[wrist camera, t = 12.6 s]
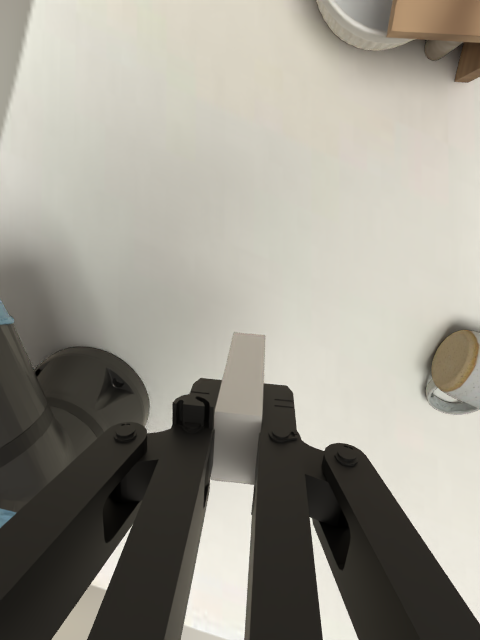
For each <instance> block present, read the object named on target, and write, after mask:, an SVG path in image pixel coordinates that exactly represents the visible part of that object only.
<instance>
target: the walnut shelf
mask: <svg viewBox="0 0 480 640" xmlns="http://www.w3.org/2000/svg"><path fill="white" fill-rule="evenodd" d="M386 37H387V38H405V39H422V40H427V42H426V44H425V49H424V50H425V55H426V56H427V58H428V59H430V60H439V59H441V58H442V57H443V56H445V55H446V54H448V53H449V52H451V51H452V50H453V49H455V48H456V47H458V46H459V45H460V44H462V43H463V47H462V51H461V55H460V60H459V64H458V68H457V73H456V77H455V81H454V82H470V81H472V80H474V79H476V78H478V77H480V0H393V1H392V7H391V13H390V18H389V24H388V30H387V36H386Z"/></svg>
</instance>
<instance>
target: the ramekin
mask: <svg viewBox="0 0 480 640" xmlns="http://www.w3.org/2000/svg"><path fill="white" fill-rule="evenodd" d="M392 1H393V0H316V2H317V4H318V8H319V11H320V12H321V13H322V15H323V19H324V20H325V21H326V23H327V24H328V26H329V28H330V29H331V30H332V31H333V32H334V34H335V35H337V36H338V37H339V38H340V39H341V40H343V41H345V42H347V43H348V44H349V45H353V46H355V47H356V48H362V49H364V50H373V51H376V50H386V49H391V48H395V47H397V46H401V45H404V44H406V43H408V42H409V41H412V40H415V39H405V38H387V37H386V36H387V30H388V24H389V18H390V13H391V7H392Z"/></svg>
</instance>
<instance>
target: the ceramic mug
mask: <svg viewBox="0 0 480 640" xmlns="http://www.w3.org/2000/svg"><path fill="white" fill-rule="evenodd" d="M431 372H432V378H433V379H431V380H430V381H429V383H428V385H427V386H426V397H427V401H428V402H429V404H430V405H431V406H432V407H433V408H434V409H436V410H438V411H440V412H443V413H447V414H454V415H461V414H468V413H471V412H475V411H478V410H480V332H475V331H470V330H460V331H457V332H454V333H453V334H451V335H450V336H448V337H447V338H446V339H445V340H444V341H443V342H442V343H441V344H440V346H439V348H438V349H437V351H436V353H435V356H434V358H433V362H432V369H431ZM437 388H439V389H440V390H441V391H443V392H444V393H446V394H447V395H449V396H451V397H453V398H455V399H457V400H460V401H463V402H462V403H447V402H445V401H443V400H441V399H439V398H437V397H436V396H434V395H432V393H433V391H434V390H436V389H437Z"/></svg>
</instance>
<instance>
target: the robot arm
mask: <svg viewBox="0 0 480 640" xmlns="http://www.w3.org/2000/svg"><path fill="white" fill-rule="evenodd" d="M13 323H15V322H14V319H13V317H11V316H9V314H8V312H7V310H6V309H5V307H4V305H3V303H2V301H1V299H0V640H51V639H52V638H53V636H54V635H55V634H56V632H57V630H58V629H59V628H60V626H61V625H62V624H63V622H64V621H65V619H66V618H67V616H68V615H69V614H70V612H71V611H72V609H73V608H74V607H75V605H76V604H77V602H78V601H79V600H80V598H81V597H82V595H83V594H84V592H85V591H86V590H87V588H88V587H89V585H90V584H91V583H92V581H93V580H94V578H95V577H96V575H97V574H98V573H99V571H100V570H101V568H102V567H103V566H104V564H105V563H106V561H107V560H108V558H109V557H110V556H111V554H112V553H113V551H114V550H115V549H116V547H117V546H118V544H119V543H120V541H121V540H122V539H123V537H124V536H125V534H126V533H127V532H128V530H129V529H130V527H131V526H132V524H133V526H132V528H131V531H130V533H129V536H128V538H127V541H126V543H125V546H124V548H123V551H122V553H121V556H120V558H119V561H118V563H117V566H116V568H115V571H114V573H113V576H112V578H111V581H110V583H109V586H108V588H107V591H106V594H105V596H104V599H103V601H102V604H101V606H100V609H99V611H98V614H97V616H96V619H95V621H94V624H93V627H92V629H91V632H90V634H89V636H88V639H87V640H181V635H182V630H183V624H184V619H185V614H186V609H187V604H188V599H189V594H190V589H191V583H192V578H193V573H194V568H195V563H196V558H197V553H198V547H199V542H200V537H201V532H202V527H203V522H204V517H205V511H206V506H207V501H208V496H209V488H210V477H211V480H217V481H226V482H235V483H244V484H252V485H254V494H253V503H252V513H251V515H252V524H251V540H250V557H249V573H248V589H247V606H246V622H245V638H244V640H323V638H322V628H321V619H320V610H319V601H318V592H317V582H316V573H315V564H314V555H313V545H312V536H311V527H310V518H309V517H311V518H312V520H313V525H314V527H315V530H316V533H317V535H318V538H319V540H320V543H321V545H322V548H323V550H324V553H325V555H326V558H327V560H328V563H329V566H330V568H331V571H332V573H333V576H334V578H335V581H336V583H337V586H338V588H339V591H340V593H341V596H342V599H343V601H344V604H345V606H346V609H347V611H348V614H349V616H350V619H351V621H352V624H353V626H354V629H355V632H356V634H357V637H358V639H359V640H480V624H479V622H478V621H477V619H476V618H475V616H474V615H473V613H472V612H471V611H470V609H469V608H468V606H467V605H466V603H465V602H464V600H463V599H462V597H461V596H460V594H459V593H458V591H457V590H456V588H455V587H454V585H453V584H452V582H451V581H450V579H449V578H448V576H447V575H446V573H445V572H444V570H443V569H442V568H441V566H440V565H439V563H438V562H437V560H436V559H435V557H434V556H433V554H432V553H431V551H430V550H429V548H428V547H427V545H426V544H425V542H424V541H423V539H422V538H421V536H420V535H419V533H418V532H417V530H416V529H415V527H414V526H413V525H412V523H411V522H410V520H409V519H408V517H407V516H406V514H405V513H404V511H403V510H402V508H401V507H400V505H399V504H398V502H397V501H396V499H395V498H394V496H393V495H392V493H391V492H390V490H389V489H388V487H387V486H386V484H385V483H384V482H383V480H382V479H381V477H380V476H379V474H378V473H377V471H376V470H375V468H374V467H373V465H372V464H371V462H370V461H369V459H368V458H367V456H366V455H365V454H364V453H363V452H362V451H361V450H359V449H357V448H356V447H354V446H351V445H348V444H343V443H335V444H331V445H329V446H328V447H326V449H325V451H322V450H319V449H316V448H314V447H311V446H309V445H308V444H306V443H304V442H303V441H302V440H301V437H300V435H299V433H298V432H297V429H296V419H295V409H294V399H293V393H292V391H291V390H290V389H289V388H288V386H284V385H274V384H264V359H265V335H256V334H246V333H235V332H234V334H233V338H232V342H231V346H230V350H229V354H228V359H227V363H226V367H225V371H224V375H223V379H222V380H215V379H205V378H200V379H199V380H198V381H196V382H195V383H194V384H193V386H192V389H191V392H190V394H188V395H184V396H181V397H179V398H177V399H176V400H175V401H174V402H173V425H172V427H171V429H169V430H166V431H162V432H157V433H148V434H147V430H146V428H145V425H146V422H147V419H148V415H149V399H148V395H147V392H146V389H145V387H144V385H143V383H142V381H141V380H140V378H139V377H138V375H137V374H136V373H135V372H134V371H133V369H132V368H130V367H129V366H128V365H127V364H126V363H125V362H123V361H122V360H121V359H119V358H117V357H116V356H114V355H112V354H110V353H107V352H105V351H102V350H99V349H95V348H89V347H73V348H68V349H64V350H61V351H59V352H56V353H55V354H53V355H51V356H50V357H49V358H47V359H46V360H45V361H44V362H42V363H41V364H40V365H39V366H38V367H37V368H36V369H35V370H33V367H32V365H31V363H30V361H29V358H28V356H27V354H26V352H25V350H24V347H23V345H22V343H21V341H20V338H19V336H18V334H17V332H16V330H15V327H14V325H13Z"/></svg>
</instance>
